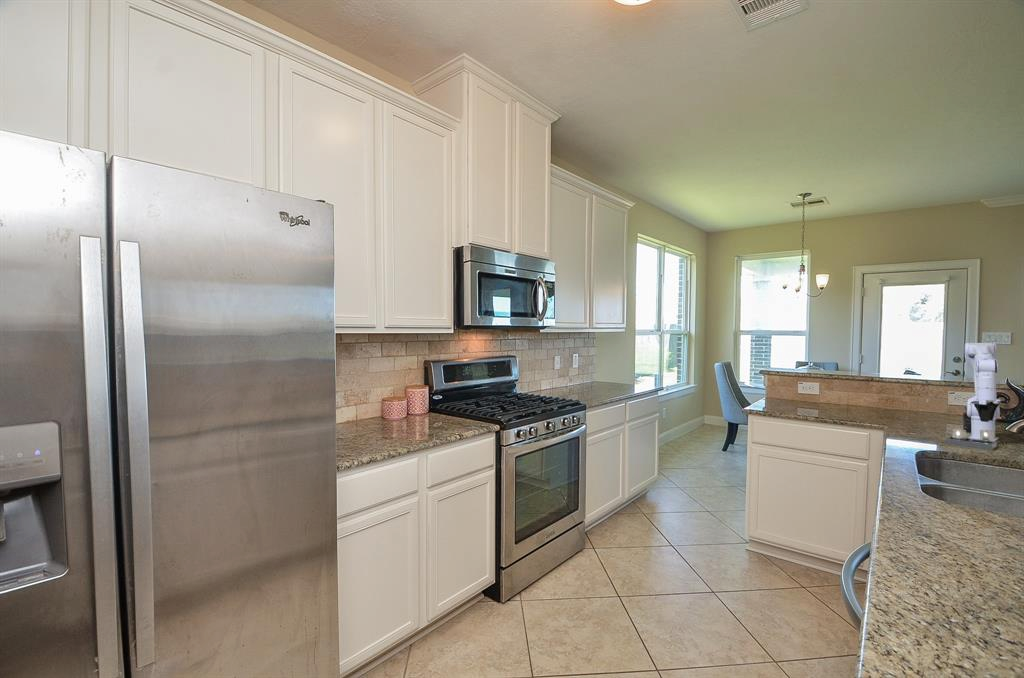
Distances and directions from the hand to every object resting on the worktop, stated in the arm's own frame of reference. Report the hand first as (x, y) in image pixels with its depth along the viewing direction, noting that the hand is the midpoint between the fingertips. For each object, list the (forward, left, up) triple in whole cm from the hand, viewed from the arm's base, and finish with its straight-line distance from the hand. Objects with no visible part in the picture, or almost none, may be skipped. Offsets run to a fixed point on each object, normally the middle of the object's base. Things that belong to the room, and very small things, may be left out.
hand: (986, 420), depth 186 cm
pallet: (+9, -3, -10) cm, 14 cm away
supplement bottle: (-33, -9, -10) cm, 36 cm away
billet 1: (+9, -7, -10) cm, 15 cm away
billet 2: (0, 0, -10) cm, 10 cm away
